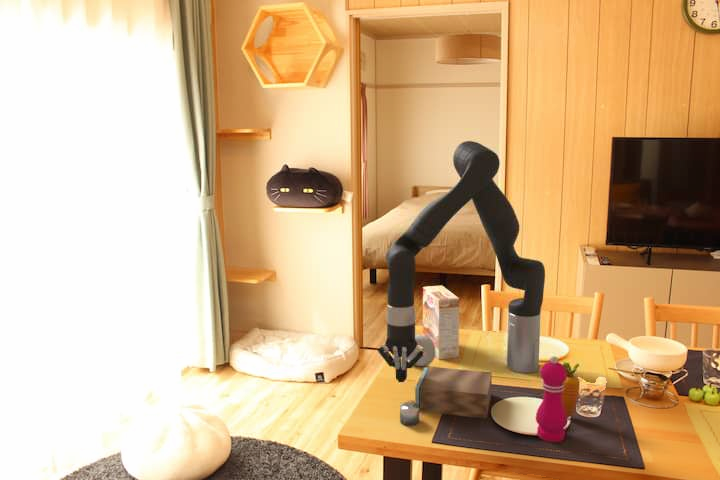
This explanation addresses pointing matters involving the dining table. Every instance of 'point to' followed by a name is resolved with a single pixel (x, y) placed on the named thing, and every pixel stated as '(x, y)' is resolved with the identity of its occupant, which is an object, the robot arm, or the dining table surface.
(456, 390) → the housing
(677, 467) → the dining table surface
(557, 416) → the pepper mill
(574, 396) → the carrot
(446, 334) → the coffeecake box
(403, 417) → the shiny metal cylinder
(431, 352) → the donut
